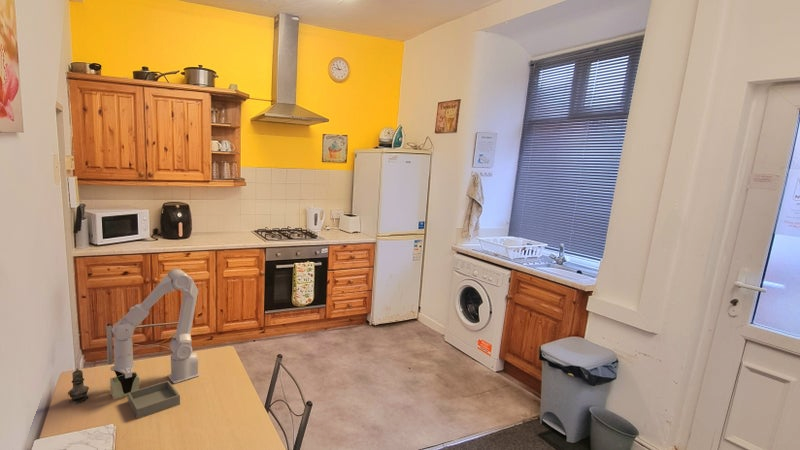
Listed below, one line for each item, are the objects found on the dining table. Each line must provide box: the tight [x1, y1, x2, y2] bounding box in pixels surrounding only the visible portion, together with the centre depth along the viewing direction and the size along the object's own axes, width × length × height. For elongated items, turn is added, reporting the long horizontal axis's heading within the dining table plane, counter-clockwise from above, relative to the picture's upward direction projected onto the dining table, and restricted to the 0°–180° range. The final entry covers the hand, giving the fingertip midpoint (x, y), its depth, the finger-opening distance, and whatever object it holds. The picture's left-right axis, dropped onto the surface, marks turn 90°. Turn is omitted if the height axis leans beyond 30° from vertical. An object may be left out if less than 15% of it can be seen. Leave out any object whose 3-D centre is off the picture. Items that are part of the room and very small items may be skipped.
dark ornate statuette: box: [67, 367, 90, 405], centre depth 144 cm, size 6×6×12 cm
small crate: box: [109, 371, 140, 400], centre depth 150 cm, size 8×5×6 cm, turn 135°
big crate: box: [127, 380, 181, 420], centre depth 144 cm, size 13×13×4 cm
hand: (124, 388), depth 150 cm, fingers open, 7 cm apart
